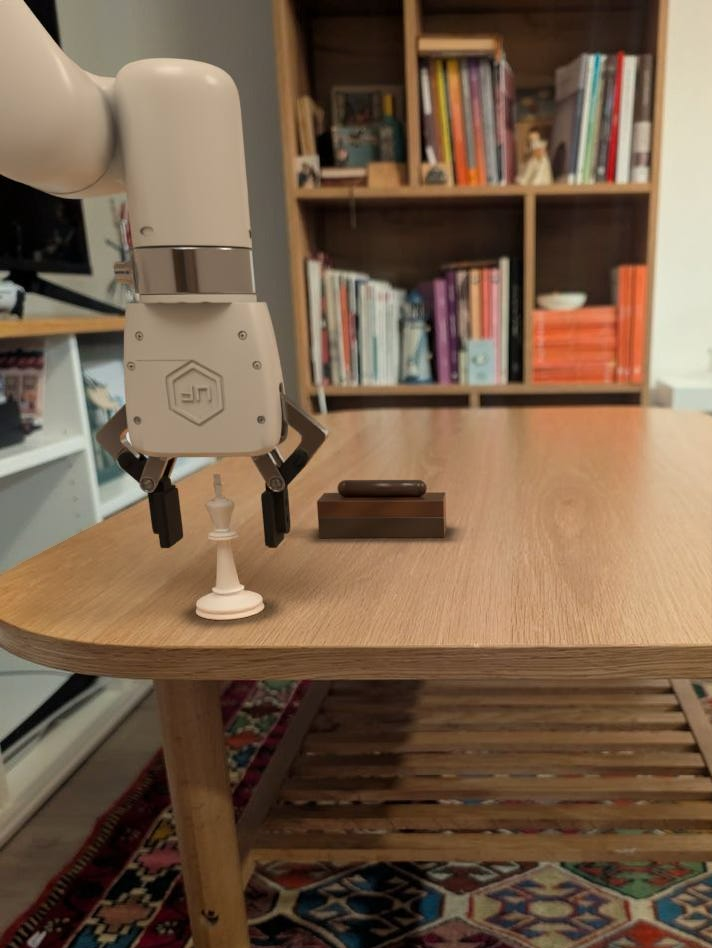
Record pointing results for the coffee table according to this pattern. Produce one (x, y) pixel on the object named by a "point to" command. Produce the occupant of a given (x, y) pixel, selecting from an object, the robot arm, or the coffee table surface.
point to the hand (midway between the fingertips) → (223, 541)
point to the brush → (382, 510)
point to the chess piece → (226, 568)
